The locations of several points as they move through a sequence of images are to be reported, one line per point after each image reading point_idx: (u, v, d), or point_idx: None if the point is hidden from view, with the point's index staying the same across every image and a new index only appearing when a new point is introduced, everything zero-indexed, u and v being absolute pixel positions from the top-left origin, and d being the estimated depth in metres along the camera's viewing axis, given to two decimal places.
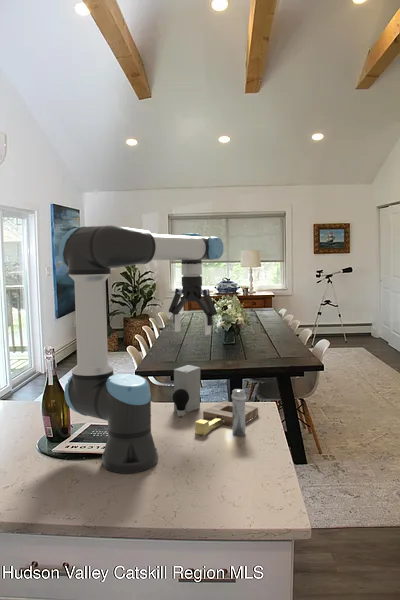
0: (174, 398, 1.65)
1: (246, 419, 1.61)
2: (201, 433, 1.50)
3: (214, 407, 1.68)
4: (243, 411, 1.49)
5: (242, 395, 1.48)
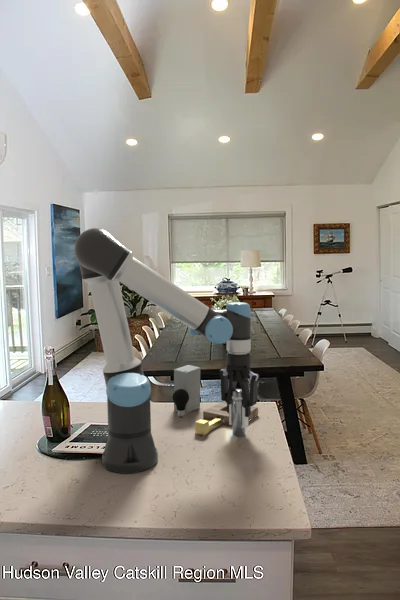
0: (174, 398, 1.65)
1: None
2: (201, 433, 1.50)
3: (214, 407, 1.68)
4: None
5: (242, 395, 1.48)
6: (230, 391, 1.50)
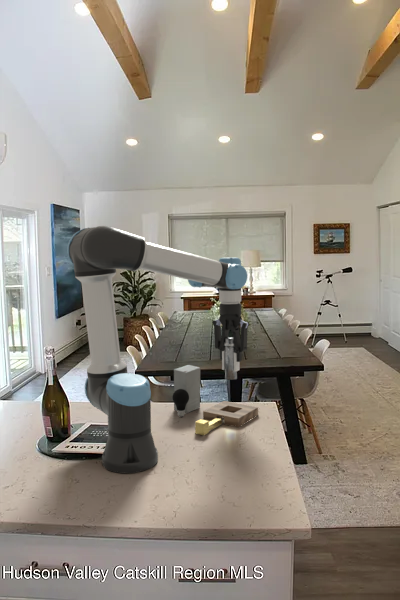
0: (174, 398, 1.65)
1: (246, 419, 1.61)
2: (201, 433, 1.50)
3: (214, 407, 1.68)
4: None
5: None
6: (223, 339, 1.64)
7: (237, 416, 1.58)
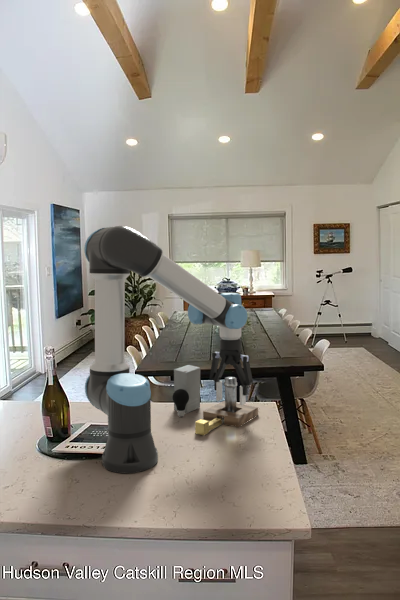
0: (174, 398, 1.65)
1: (246, 419, 1.61)
2: (201, 433, 1.50)
3: (214, 407, 1.68)
4: (234, 396, 1.64)
5: (233, 382, 1.63)
6: (219, 371, 1.66)
7: (237, 416, 1.58)
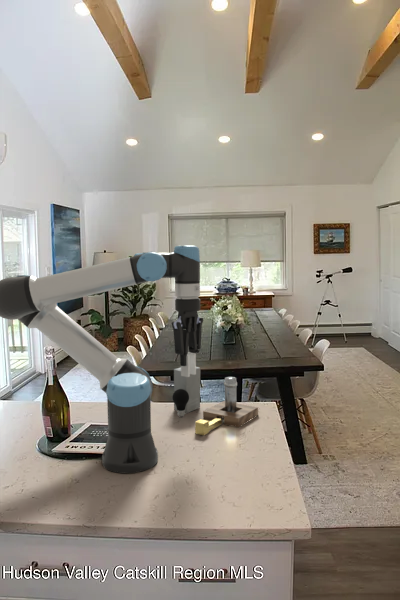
0: (174, 398, 1.65)
1: (246, 419, 1.61)
2: (201, 433, 1.50)
3: (214, 407, 1.68)
4: (234, 396, 1.64)
5: (233, 382, 1.64)
6: None
7: (237, 416, 1.58)
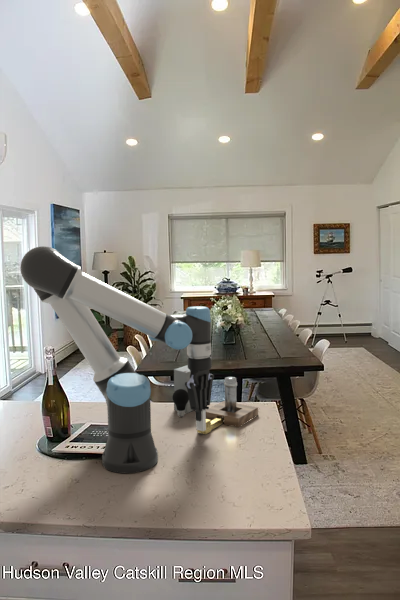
0: (174, 398, 1.65)
1: (246, 419, 1.61)
2: (203, 432, 1.51)
3: (214, 407, 1.68)
4: (234, 396, 1.64)
5: (233, 382, 1.64)
6: None
7: (237, 416, 1.58)
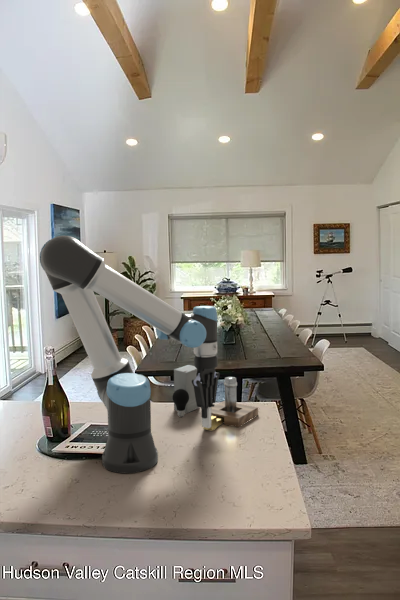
0: (174, 398, 1.65)
1: (246, 419, 1.61)
2: (209, 429, 1.54)
3: (214, 407, 1.68)
4: (234, 396, 1.64)
5: (233, 382, 1.64)
6: None
7: (237, 416, 1.58)
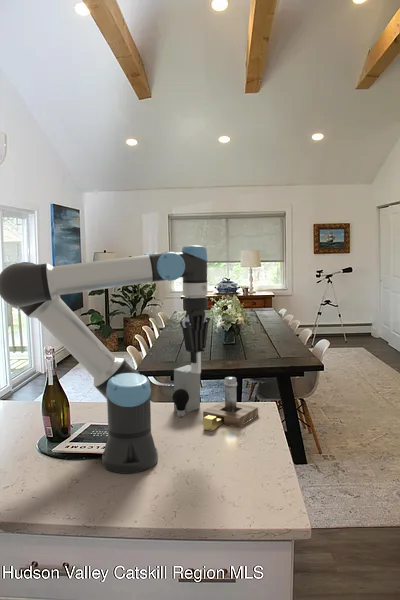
0: (174, 398, 1.65)
1: (246, 419, 1.61)
2: (210, 429, 1.54)
3: (214, 407, 1.68)
4: (234, 396, 1.64)
5: (233, 382, 1.64)
6: None
7: (237, 416, 1.58)
